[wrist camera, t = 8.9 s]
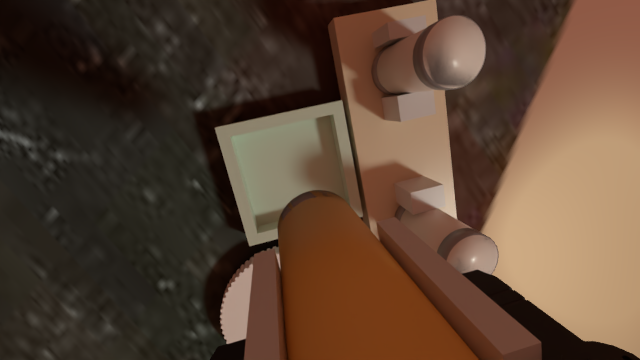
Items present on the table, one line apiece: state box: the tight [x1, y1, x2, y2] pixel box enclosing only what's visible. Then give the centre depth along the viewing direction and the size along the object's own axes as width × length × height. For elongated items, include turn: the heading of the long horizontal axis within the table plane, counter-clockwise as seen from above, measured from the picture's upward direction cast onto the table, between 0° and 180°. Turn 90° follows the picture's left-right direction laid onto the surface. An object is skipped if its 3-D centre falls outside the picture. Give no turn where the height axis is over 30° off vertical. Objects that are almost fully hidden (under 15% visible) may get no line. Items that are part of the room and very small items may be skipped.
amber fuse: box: [278, 190, 479, 360], centre depth 10 cm, size 4×4×12 cm
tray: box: [215, 100, 363, 246], centre depth 29 cm, size 11×11×2 cm
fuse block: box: [328, 0, 498, 275], centre depth 25 cm, size 24×9×12 cm, turn 12°
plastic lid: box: [220, 246, 281, 344], centre depth 32 cm, size 14×14×2 cm
